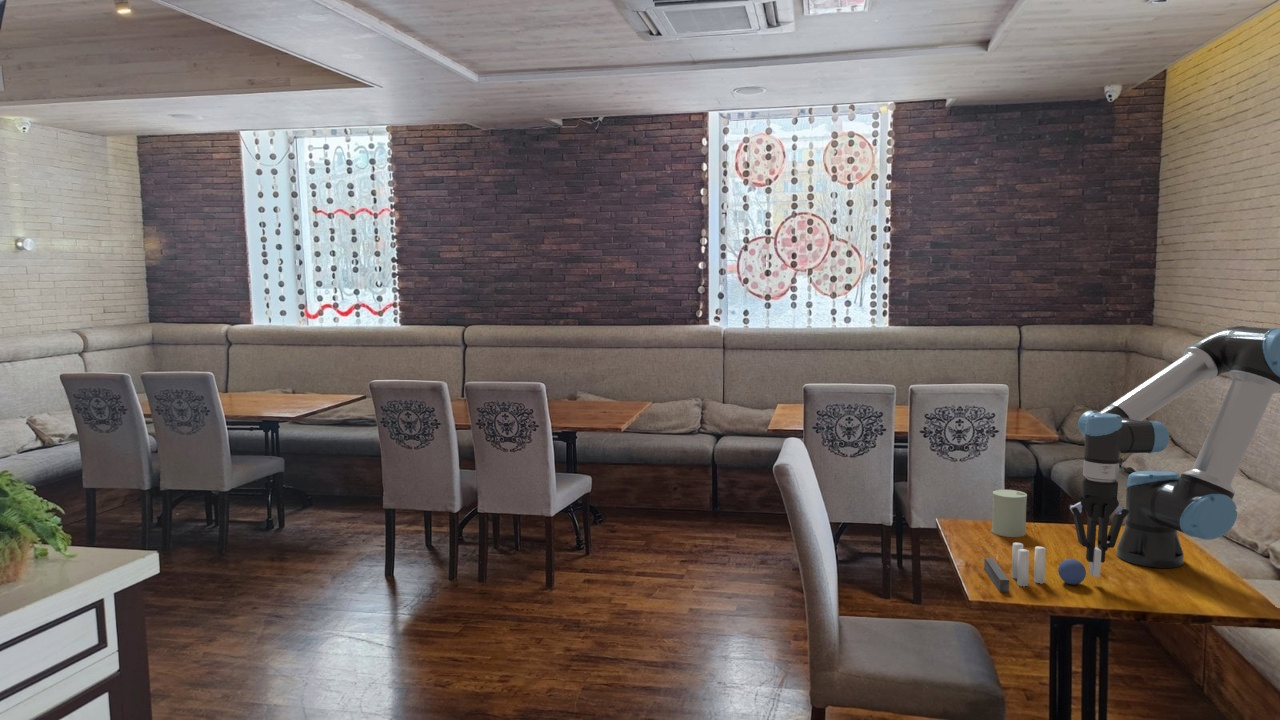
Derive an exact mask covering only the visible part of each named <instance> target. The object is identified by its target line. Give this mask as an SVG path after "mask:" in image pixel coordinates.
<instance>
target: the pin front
mask: <svg viewBox="0 0 1280 720" xmlns="http://www.w3.org/2000/svg"><path fill="white" fill-rule="evenodd" d="M1046 551H1047V548H1046V547H1044V546H1038V545H1037V546H1035V547H1034V562H1033V565H1034V566H1033V567H1034V568H1033V582H1034V583H1035V584H1038V583H1040V585H1043V583H1044V584H1045V583H1046V581H1045V580H1046V579H1045V577H1046V559H1047V558H1046V554H1047V552H1046Z"/></svg>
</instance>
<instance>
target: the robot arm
mask: <svg viewBox="0 0 1280 720" xmlns="http://www.w3.org/2000/svg"><path fill="white" fill-rule="evenodd" d="M1226 373H1228V375H1229V377H1230V379H1231V384H1230V386H1229V387H1228V390H1227V392H1226V395H1225V396H1224V398H1223V401H1222V403H1221V405H1220V407H1219V410H1218V411H1217V413H1216V416H1215V418H1214V420H1213V422H1212V425H1211V426H1210V429H1209V430H1208V433H1207V436H1206V438H1205V440H1204V442H1203V444H1202V446H1201V448H1200V450H1199V453H1198V455H1197V458H1196V459H1195V461H1194V463H1193V466H1192V468H1191V469H1189V470H1187V471H1184V472H1182V473H1181V474H1179V473H1178V472H1174V471H1166V470H1165V471H1164V470H1140V471H1134V472H1132V473H1130V474H1129V475H1128V478H1127V484H1126V494H1125V495H1126V500H1125V502H1126V504H1125V507H1124V506H1122V505H1120V503H1119V500H1118V494H1119V493H1118V492H1119V482H1118V481H1117V480H1118V479H1119V473H1120V462H1121V461H1120V459H1121V454H1152V453H1160V452H1162V451H1164V450H1166V448H1167V447H1168V445H1169V443H1170V433H1169V430H1168V428H1167V427H1166V425H1165V424H1164V423H1162V422H1160V421H1156V420H1155V421H1153V420H1145V419H1147V418H1149V417H1150V416H1152V415H1154V414H1155V413H1156V412H1157V411H1159V410H1160V409H1162V408H1164V407H1165V406H1166V405H1168V404H1170V403H1172V402H1173V401H1174V400H1176V399H1178V397H1180V396H1182V395H1184V394H1185V393H1186V392H1188V391H1189V390H1190V389H1192V388H1194V387H1196V386H1197V385H1198V384H1200V383H1201V382H1203V381H1204V380H1209V381H1210V380H1213V379H1215V378H1216V377H1218V376H1220V375H1221V374H1222V375H1223V374H1226ZM1279 392H1280V328H1279V327H1278V328H1277V327H1273V328H1271V327H1270V328H1268V327H1255V326H1254V327H1253V326H1243V325H1240V326H1239V325H1236V326H1230V327H1226V328H1223V329H1220V330H1218V331H1216V332H1213V333H1211V334H1209V335H1208V336H1205V337H1203V338H1201V339H1200V340H1198V341H1196V342H1195V343H1193V344H1192V345H1190V346H1188V347H1187V348H1185V350H1184V352H1183V355H1182V356H1181V357H1179V358H1178V359H1176V360H1175V361H1174V362H1172V363H1171V364H1169V365H1167V366H1166V367H1165V368H1163V369H1161V370H1160V371H1159V372H1157V373H1156V374H1153V376H1151V377H1150V378H1148V379H1146V380H1145V381H1143V382H1142V383H1141V384H1139V385H1137V386H1136V387H1135V388H1133V389H1132V390H1130V391H1128V392H1127V393H1125V394H1124V395H1123V396H1121V397H1119V398H1118V399H1117V400H1115V401H1114V402H1112V403H1110V404H1109V405H1107V406H1106V407H1104V408H1103V409H1101V410H1095V409H1094V410H1087V411H1085V412H1084V413H1082V414H1081V416H1080V417H1079V419H1078V423H1077V428H1078V431H1079V433H1080V435H1081V436H1082V437H1083V438H1084V450H1083V451H1084V452H1083V453H1084V454H1083V468H1082V469H1083V470H1082V475H1083V476H1084V477H1083V478H1082V481H1081V482H1082V485H1081V496H1080V497H1079V500H1078V501H1079V502H1077V503H1074V505H1073V504H1070V505H1069V506H1068V509H1069V511H1070V512H1071V513H1072V516H1073V520H1074V526H1075V531H1076V536H1077V541H1078V543H1079V544H1080V545H1081V546H1082V547H1085V548H1086V552H1085V559H1086V561H1087V562H1089V571H1088V572H1089V574H1090V575H1091V576H1092V577H1093V578H1101V563H1104V564H1105V561H1106V552H1107V551H1108V550H1109V549H1110V548H1111V549H1112V548H1114V547H1115V546H1116V556H1117V557H1118V558H1119V559H1120V560H1123V561H1125V562H1127V563H1131V564H1134V565H1138V566H1143V567H1147V568H1159V569H1163V568H1164V569H1170V568H1171V569H1173V568H1179V567H1181V566H1182V565H1184V559H1185V555H1184V552H1183V551H1184V550H1183V547H1182V545H1181V542H1180V538H1179V536H1178V532H1181V533H1183V534H1185V535H1188V536H1190V537H1192V538H1197V539H1202V540H1205V541H1207V540H1208V541H1209V540H1211V541H1212V540H1215V539H1218V538H1221V537H1223V536H1225V535H1226V534H1228V533H1229V531H1230V530H1232V528H1233V527H1234V525H1235V524H1236V521H1237V519H1238V511H1237V508H1238V507H1237V504H1236V503H1235V501H1234V500H1233V498H1234V496H1235V493H1236V492H1235V490H1234V488H1233V487H1232V486H1233V485H1232V484H1233V481H1234V478H1235V477H1236V474H1237V471H1238V470H1239V467H1240V465H1241V464H1242V461H1243V459H1244V457H1245V455H1246V452H1247V451H1248V449H1249V446H1250V445H1251V442H1252V439H1253V437H1254V435H1255V433H1256V431H1257V428H1258V426H1259V424H1260V422H1261V420H1262V418H1263V416H1264V414H1265V412H1266V409H1267V407H1268V405H1269V402H1270V400H1271V398H1272V396H1273V395H1274V394H1276V393H1279ZM1082 509H1083V510H1084V512H1085V513H1086V519H1087V522H1086V523H1087V525H1086V526H1087V527H1086V531H1085V526H1084V521H1083V516H1082V512H1083V510H1082ZM1113 513H1115V514H1114V515H1113V519H1112V522H1111V524H1110V528H1109V523H1110V517H1111V515H1112V514H1113ZM1124 519H1125V525H1124V530H1123V531H1122V534H1121V535H1120V539H1119V540H1118V537H1119V534H1120V531H1121V529H1122V525H1123V523H1124ZM1097 523H1098V525H1097ZM1097 526H1098V530H1097ZM1108 529H1109V530H1108ZM1097 531H1098V533H1097ZM1096 536H1097V537H1096ZM1096 538H1097V546H1096ZM1117 541H1118V543H1117ZM1116 543H1117V545H1116Z"/></svg>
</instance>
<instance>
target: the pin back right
mask: <svg viewBox="0 0 1280 720" xmlns="http://www.w3.org/2000/svg"><path fill="white" fill-rule="evenodd" d="M1019 549H1024V543H1021V542H1012V552H1011V553H1012V555H1011V558H1012V559H1011V579H1013V580H1017V572H1018V550H1019Z"/></svg>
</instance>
